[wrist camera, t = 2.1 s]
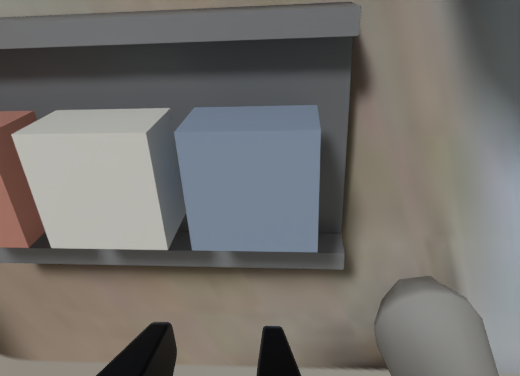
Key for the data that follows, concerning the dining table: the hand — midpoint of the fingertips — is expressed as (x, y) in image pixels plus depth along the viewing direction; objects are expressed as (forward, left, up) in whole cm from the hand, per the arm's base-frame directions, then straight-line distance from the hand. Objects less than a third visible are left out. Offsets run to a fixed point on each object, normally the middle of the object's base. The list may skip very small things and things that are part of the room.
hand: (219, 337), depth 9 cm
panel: (-6, 0, -13) cm, 14 cm away
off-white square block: (-6, 0, -9) cm, 11 cm away
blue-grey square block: (0, 0, -9) cm, 9 cm away
